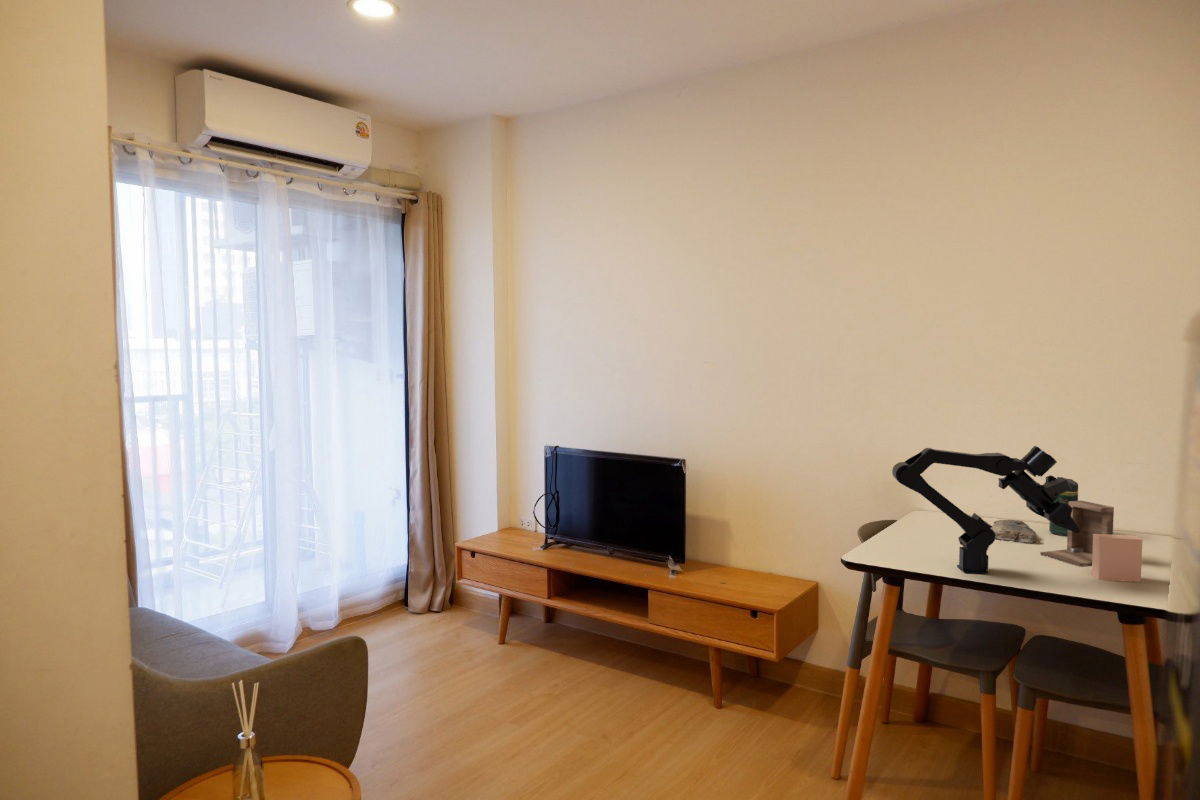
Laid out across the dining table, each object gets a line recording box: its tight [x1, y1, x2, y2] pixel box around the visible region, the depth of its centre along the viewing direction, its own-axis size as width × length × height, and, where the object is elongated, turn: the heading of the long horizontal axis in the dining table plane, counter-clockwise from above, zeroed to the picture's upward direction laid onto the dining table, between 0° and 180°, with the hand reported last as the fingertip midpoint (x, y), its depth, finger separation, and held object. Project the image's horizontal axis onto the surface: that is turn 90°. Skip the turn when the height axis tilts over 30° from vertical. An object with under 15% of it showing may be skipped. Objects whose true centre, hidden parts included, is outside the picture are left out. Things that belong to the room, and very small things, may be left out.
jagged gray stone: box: [991, 519, 1038, 545], centre depth 251 cm, size 14×5×20 cm
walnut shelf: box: [1040, 500, 1115, 567], centre depth 222 cm, size 14×13×16 cm
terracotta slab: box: [1091, 534, 1143, 582], centre depth 203 cm, size 10×4×12 cm, turn 78°
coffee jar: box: [1048, 478, 1079, 536], centre depth 253 cm, size 10×8×19 cm
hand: (1072, 528), depth 205 cm, fingers open, 9 cm apart
